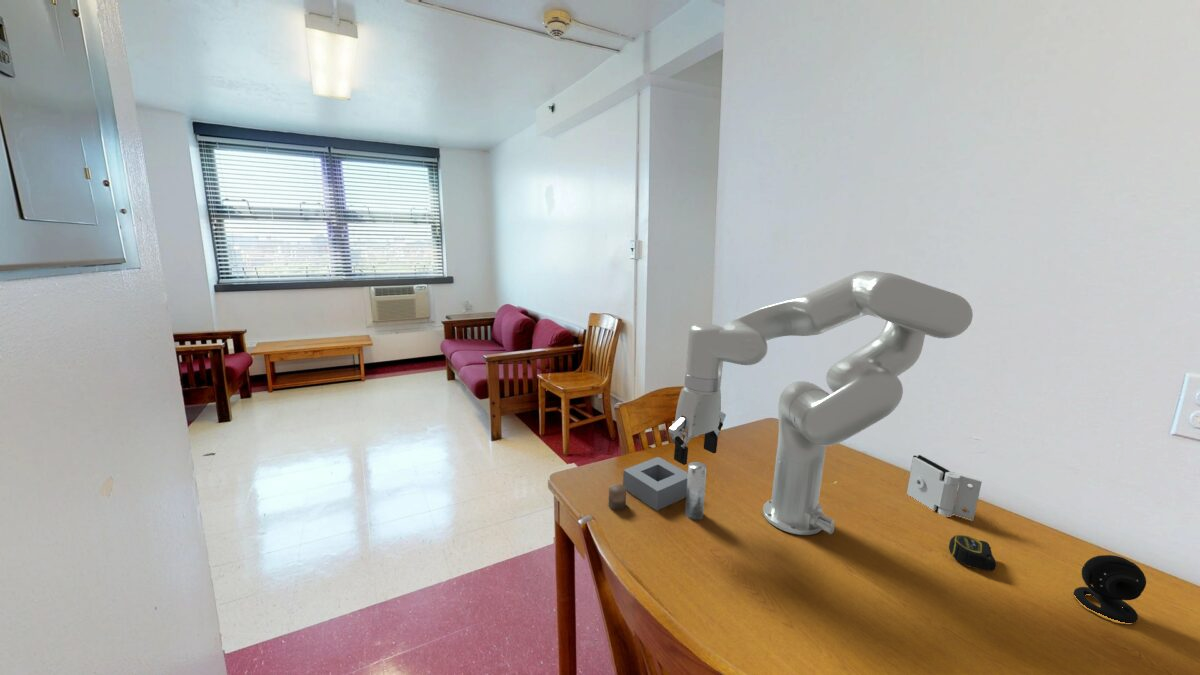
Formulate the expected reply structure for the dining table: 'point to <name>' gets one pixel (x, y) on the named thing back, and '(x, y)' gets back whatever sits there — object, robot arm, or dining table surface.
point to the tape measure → (972, 552)
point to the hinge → (942, 488)
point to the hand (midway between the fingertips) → (695, 456)
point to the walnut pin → (617, 497)
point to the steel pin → (695, 490)
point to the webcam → (1112, 586)
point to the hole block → (656, 482)
